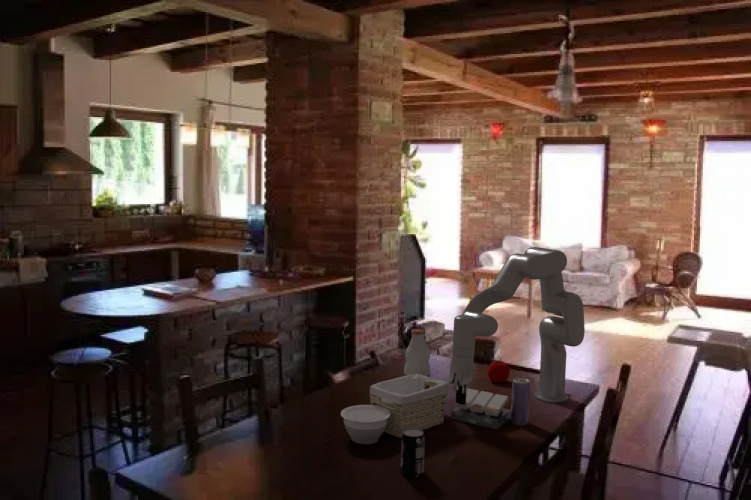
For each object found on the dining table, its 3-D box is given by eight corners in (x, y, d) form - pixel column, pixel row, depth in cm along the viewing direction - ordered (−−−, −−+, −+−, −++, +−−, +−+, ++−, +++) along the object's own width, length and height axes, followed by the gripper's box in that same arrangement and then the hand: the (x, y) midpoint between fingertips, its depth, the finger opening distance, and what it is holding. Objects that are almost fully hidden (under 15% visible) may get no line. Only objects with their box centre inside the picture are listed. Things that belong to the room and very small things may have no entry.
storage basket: (415, 411, 245) (416, 371, 244) (449, 424, 234) (451, 382, 232) (366, 427, 229) (367, 384, 227) (401, 442, 217) (402, 396, 216)
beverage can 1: (399, 468, 198) (400, 427, 196) (421, 467, 198) (423, 427, 197) (402, 478, 191) (403, 436, 190) (425, 477, 192) (426, 436, 190)
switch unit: (467, 408, 249) (467, 396, 249) (511, 418, 240) (511, 405, 240) (450, 418, 238) (450, 406, 238) (495, 429, 229) (496, 416, 229)
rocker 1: (467, 392, 247) (467, 387, 246) (479, 394, 245) (478, 390, 244) (455, 407, 239) (455, 402, 239) (467, 409, 237) (466, 405, 236)
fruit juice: (422, 399, 259) (424, 326, 255) (433, 407, 250) (435, 332, 247) (399, 402, 255) (401, 328, 252) (410, 410, 246) (412, 334, 243)
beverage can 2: (528, 426, 232) (530, 383, 231) (510, 424, 234) (512, 382, 232) (528, 420, 238) (530, 378, 237) (510, 418, 239) (512, 377, 238)
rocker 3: (496, 397, 241) (495, 393, 240) (508, 400, 239) (507, 395, 238) (484, 413, 233) (484, 409, 233) (496, 416, 231) (496, 412, 230)
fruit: (511, 385, 278) (512, 361, 277) (488, 384, 278) (489, 360, 277) (507, 378, 287) (508, 355, 286) (485, 378, 287) (486, 354, 286)
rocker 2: (481, 394, 244) (481, 390, 243) (493, 397, 242) (493, 392, 241) (470, 410, 236) (469, 406, 236) (482, 413, 234) (481, 408, 233)
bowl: (396, 433, 224) (396, 408, 223) (381, 451, 209) (381, 424, 208) (350, 426, 229) (351, 402, 228) (332, 444, 214) (332, 417, 213)
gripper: (463, 345, 244) (460, 395, 246) (443, 353, 232) (441, 406, 233) (482, 349, 240) (479, 400, 242) (463, 357, 227) (461, 411, 229)
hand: (460, 403), depth 238 cm, fingers closed
